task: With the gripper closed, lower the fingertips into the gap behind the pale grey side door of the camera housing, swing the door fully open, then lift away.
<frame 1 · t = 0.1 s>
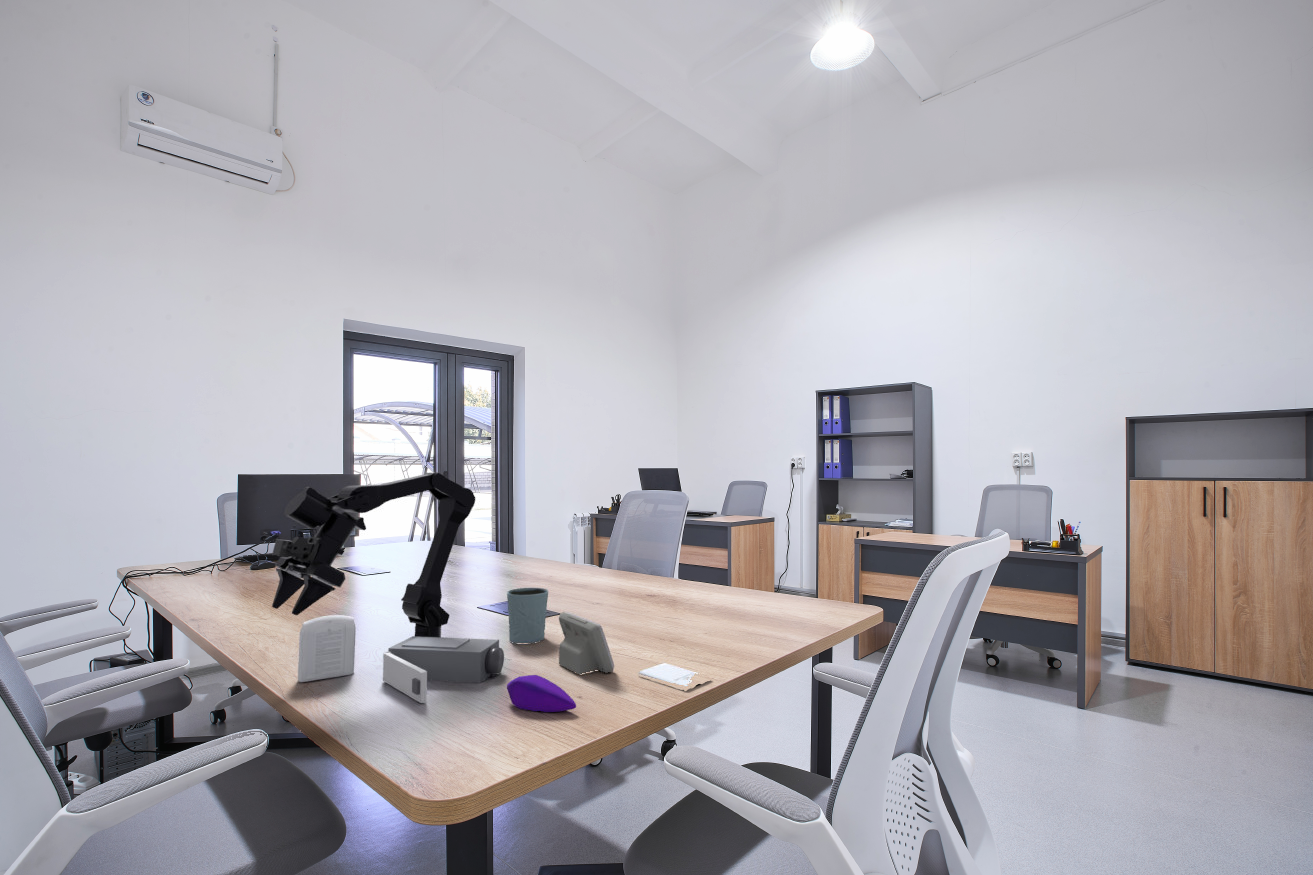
hand: (283, 611, 117), 15 cm above the table, tool tilted 35°, fingers open, 9 cm apart
side door: (403, 675, 115), point 3 cm above the table, hinge at 35.0°
digital clock: (585, 667, 129), on the table
teal cup: (527, 639, 150), on the table
white upright block: (326, 677, 123), on the table
purple teardrop stone: (540, 709, 107), on the table
camera housing: (444, 672, 125), on the table
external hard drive: (674, 682, 121), on the table
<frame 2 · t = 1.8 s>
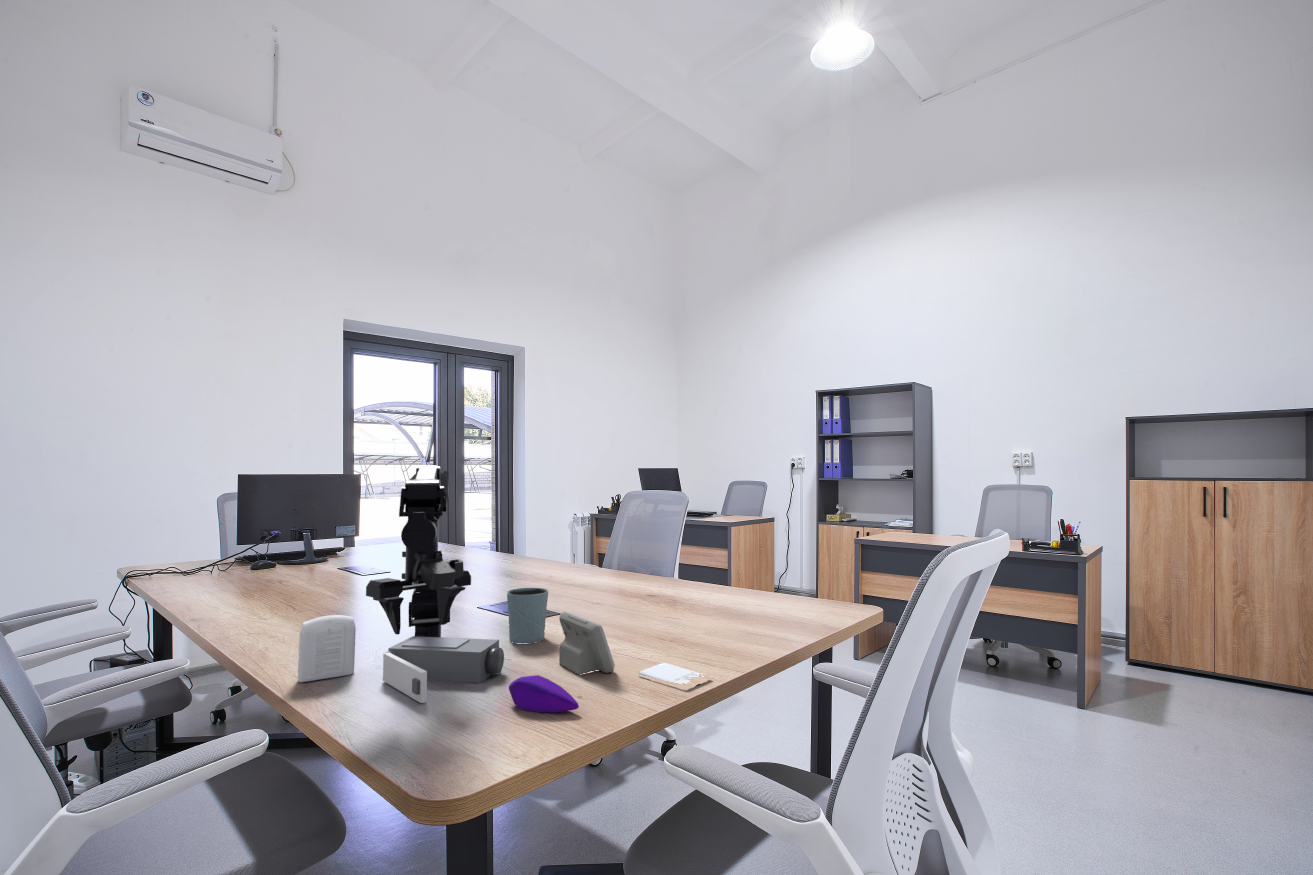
hand: (420, 629, 113), 12 cm above the table, tool pointing down, fingers open, 9 cm apart
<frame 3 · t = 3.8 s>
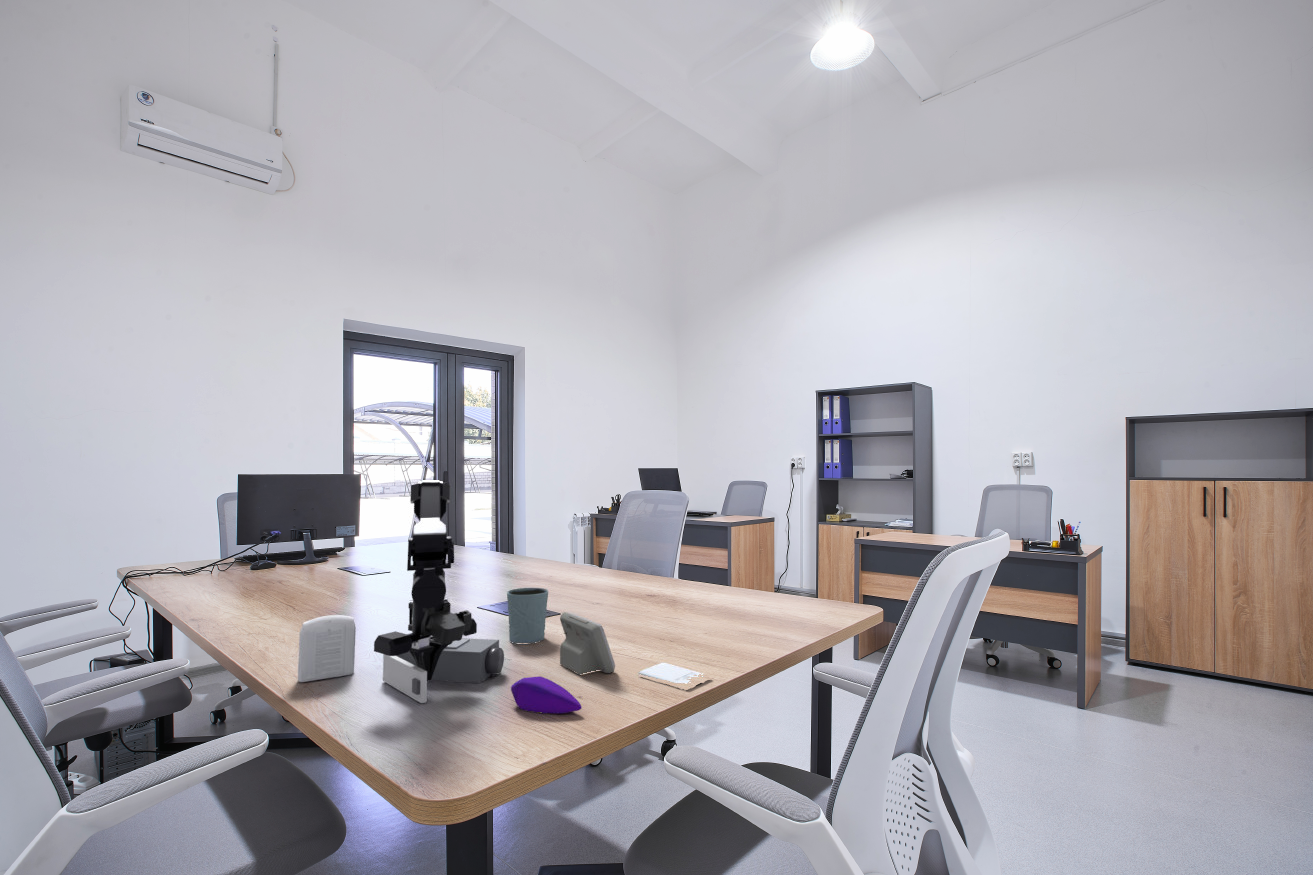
hand: (427, 680, 113), 3 cm above the table, tool pointing down, fingers closed
side door: (403, 675, 115), point 3 cm above the table, hinge at 35.0°, touching gripper
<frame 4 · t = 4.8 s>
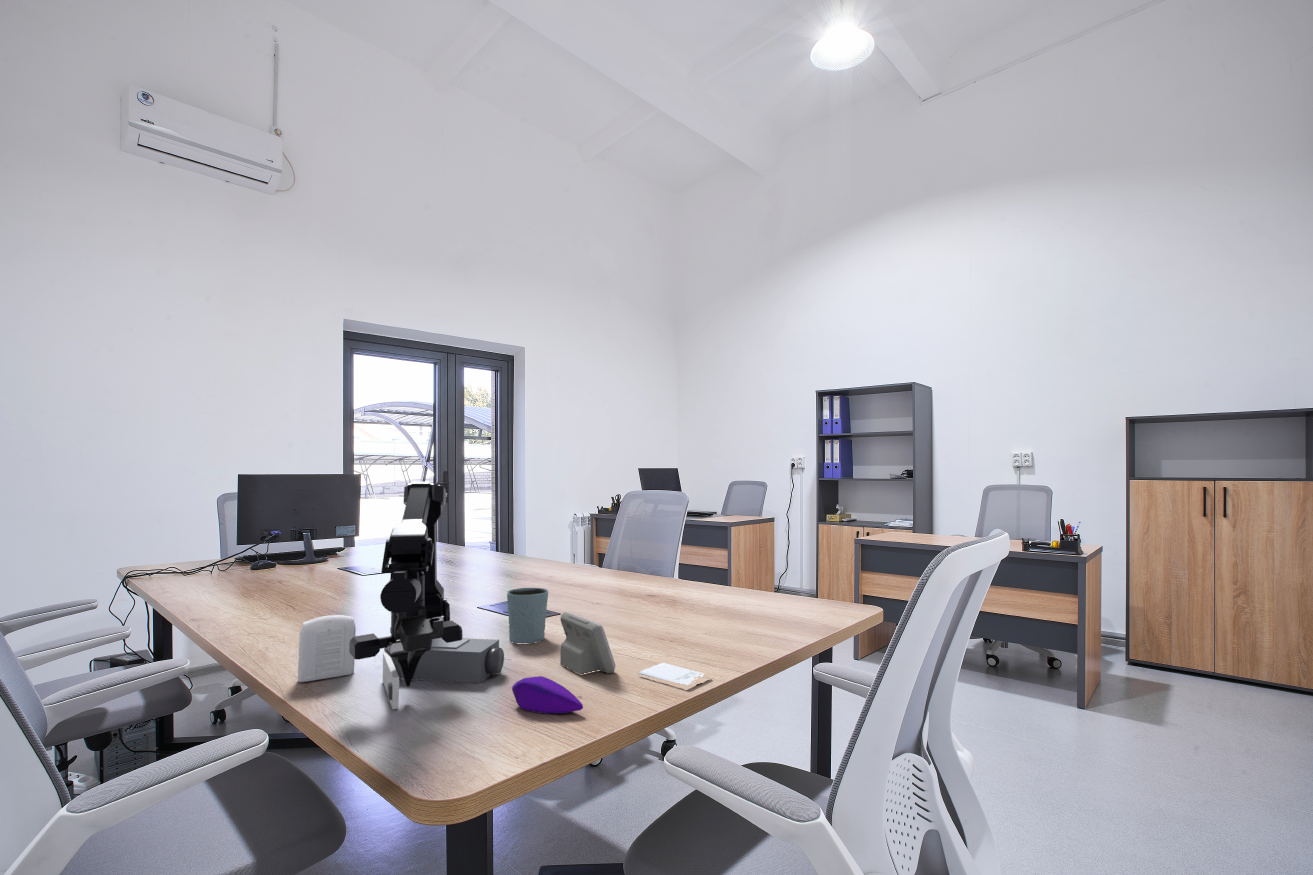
hand: (407, 685, 111), 3 cm above the table, tool pointing down, fingers closed
side door: (389, 678, 113), point 3 cm above the table, hinge at 51.3°, touching gripper
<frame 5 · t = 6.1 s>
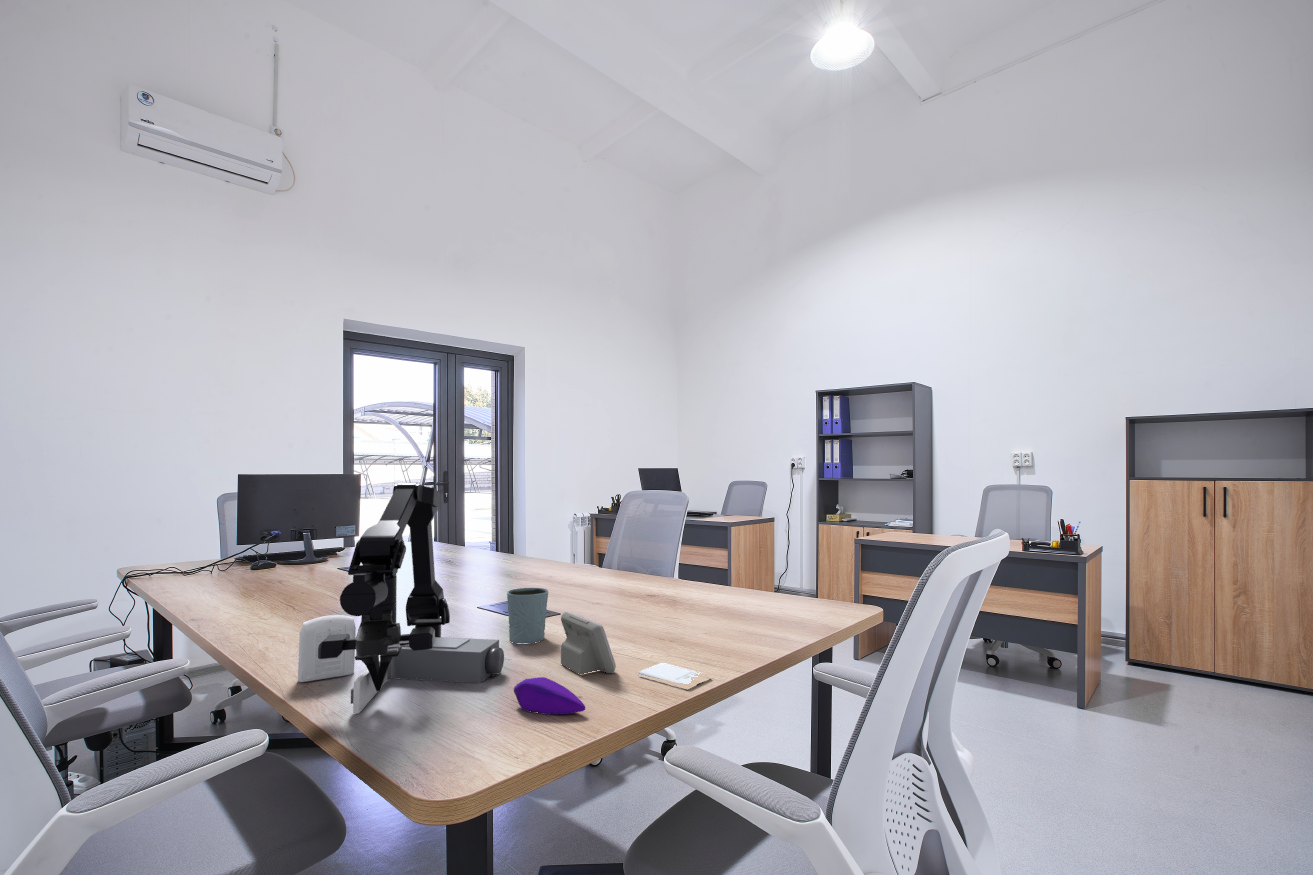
hand: (378, 690, 108), 3 cm above the table, tool pointing down, fingers closed
side door: (372, 679, 113), point 3 cm above the table, hinge at 72.7°, touching gripper
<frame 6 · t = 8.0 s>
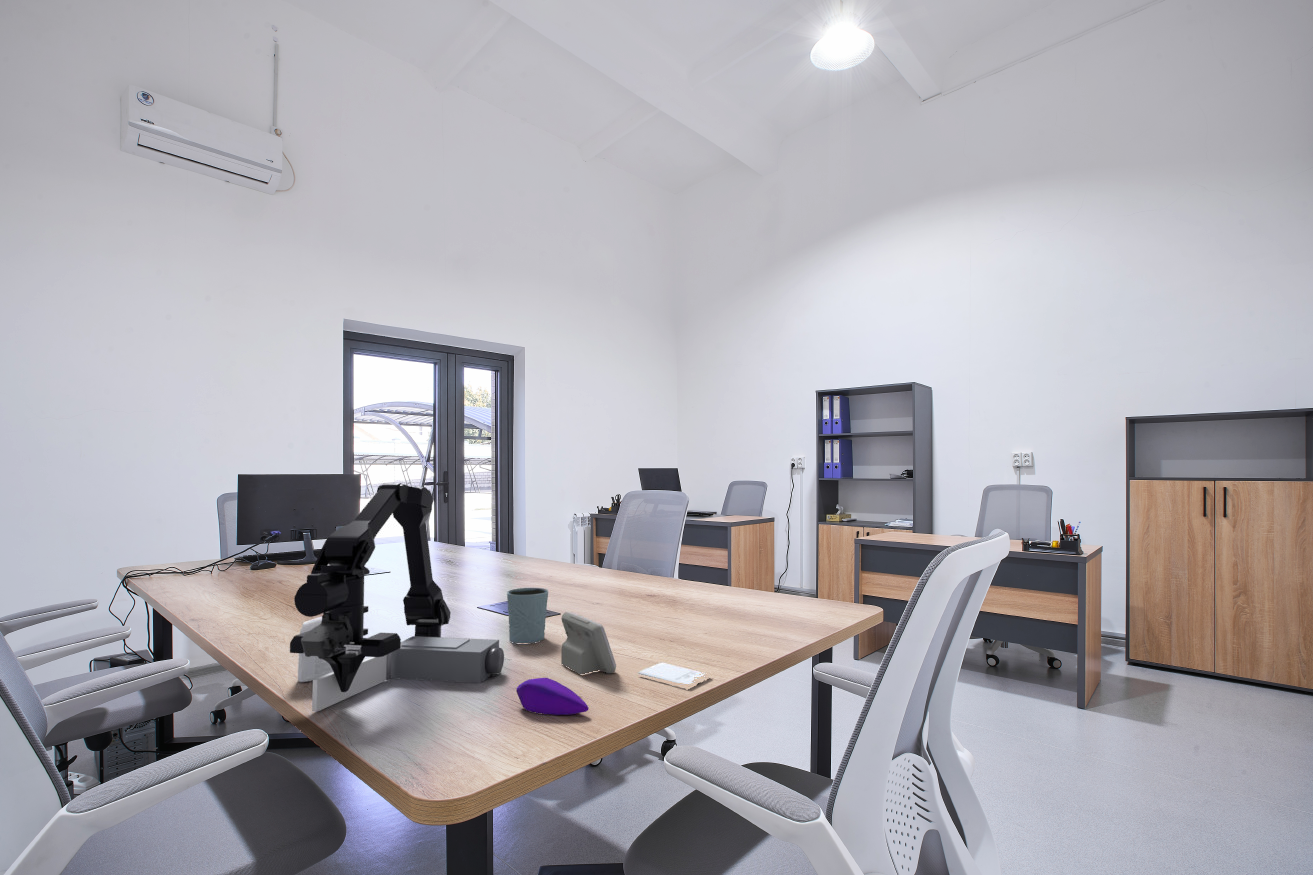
hand: (344, 691, 108), 3 cm above the table, tool pointing down, fingers closed
side door: (353, 678, 113), point 3 cm above the table, hinge at 99.2°, touching gripper
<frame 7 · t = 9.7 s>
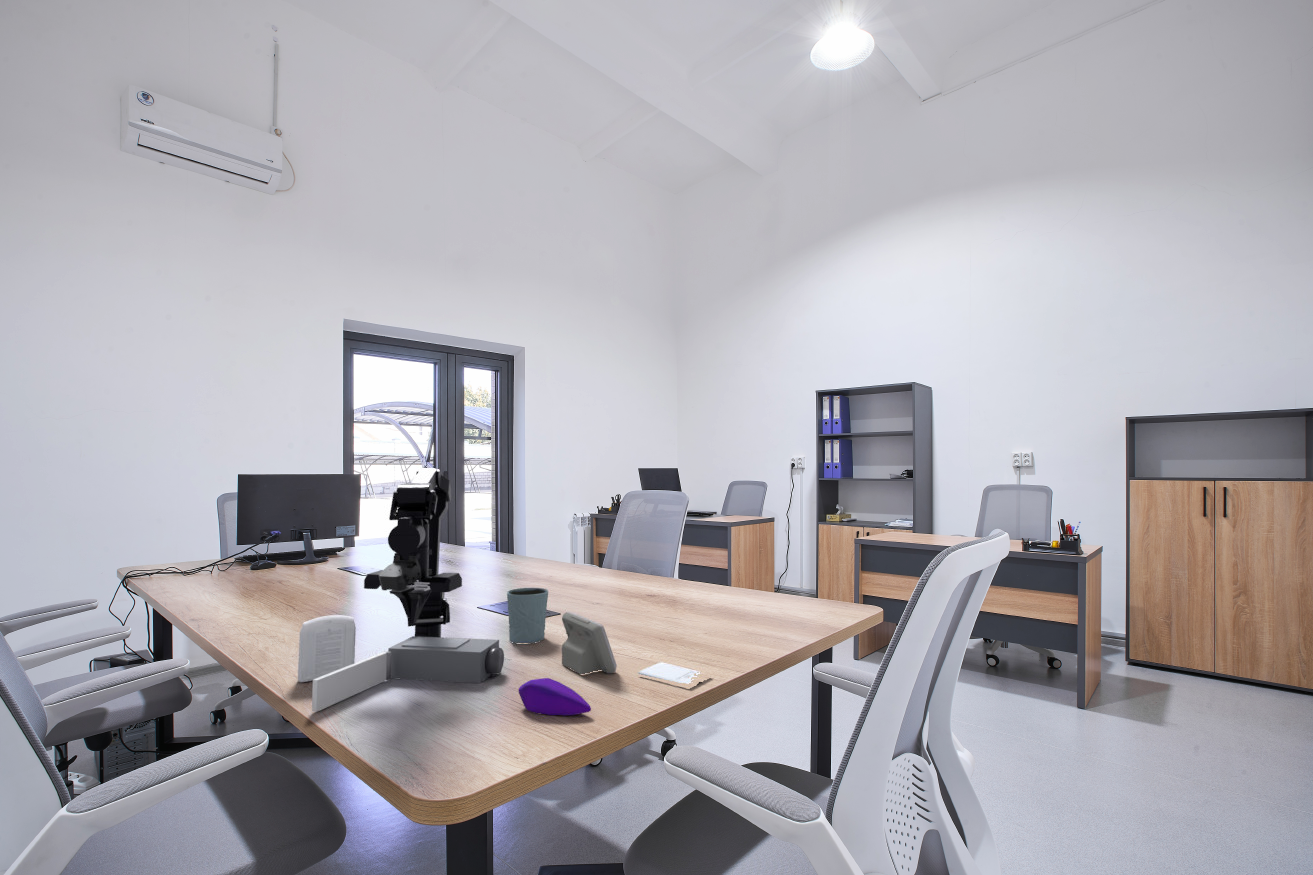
hand: (412, 623, 122), 11 cm above the table, tool pointing down, fingers closed
side door: (353, 678, 113), point 3 cm above the table, hinge at 99.2°
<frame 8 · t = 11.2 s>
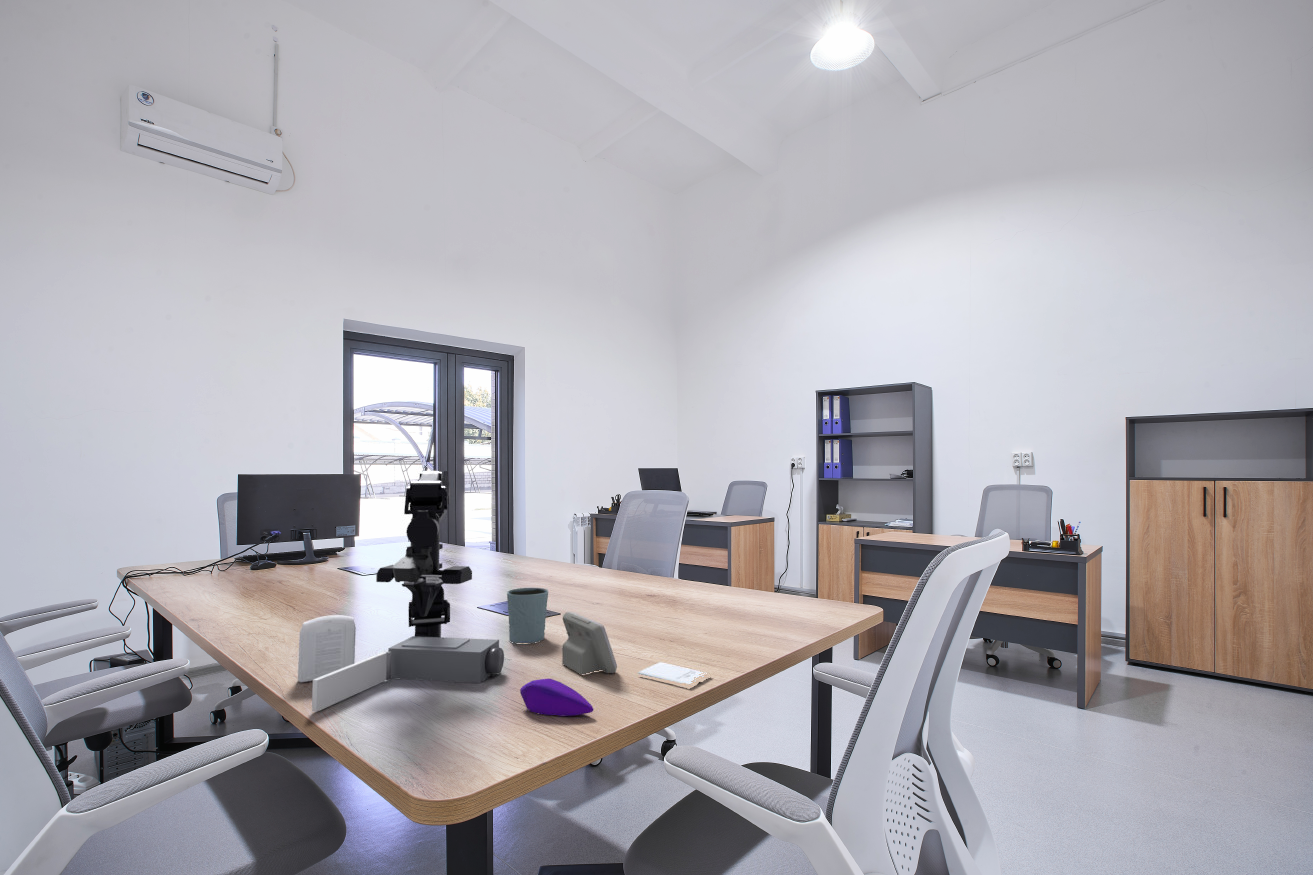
hand: (423, 615, 125), 12 cm above the table, tool pointing down, fingers closed
at the end: side door at +99° (first picture: +35°) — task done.
